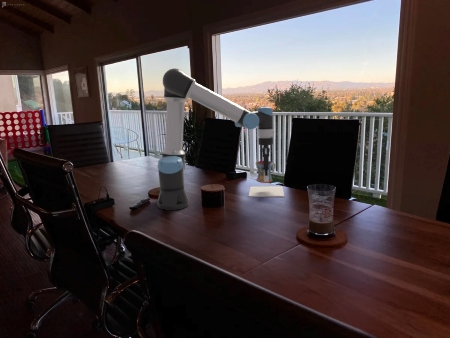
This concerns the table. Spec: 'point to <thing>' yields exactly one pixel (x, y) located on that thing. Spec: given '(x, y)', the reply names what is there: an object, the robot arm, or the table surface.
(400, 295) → the table surface
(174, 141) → the robot arm
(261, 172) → the mug
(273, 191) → the placemat
